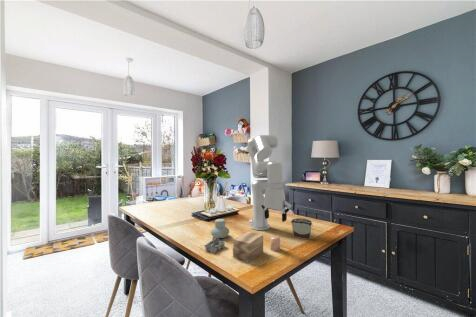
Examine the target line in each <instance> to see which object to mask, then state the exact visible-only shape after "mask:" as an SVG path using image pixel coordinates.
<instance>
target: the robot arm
mask: <svg viewBox="0 0 476 317" xmlns="http://www.w3.org/2000/svg"><path fill="white" fill-rule="evenodd" d="M278 146H279V139H278V137H277V136H276V135H274V134H261V135H258V136H256V137H254V138H250V139H248V141H247V146H246V147H247V151H248V154H249V157H250V159H251V170H252V176H253V178H255V179H257V180H253V181H252V182H251V186H250V187H251V191H252V192H251V193H252V217H253V218H249V220H248V223H250V224H251V225H250V228H251V229H253V230H256V231H267V230H269V229H270V228H271V227H270V226H271V225H270V224H269V223H268V222H269V221H268V219H269V218H270V210H269V209H271V210H278V211H281V212H282V214H281V221H282V223H283V222H286V221H287V214H288V212H289V211H290V210H291V208H292V204H291V203H290V202H288V201H286V194H285V190H284V188H283V164H282V162H280V161H276V160H275V161H268V160H267V161H266V159H269V158H270V157H271V156H272V155H273V150H275V149H277V148H278Z"/></svg>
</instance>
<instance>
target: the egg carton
mask: <svg viewBox="0 0 476 317" xmlns="http://www.w3.org/2000/svg"><path fill="white" fill-rule="evenodd" d="M225 243H226V241H225V240H220V238H215V237H213V238H212V240H210V241H209V242H208V243H206V244H205V245H203V246H204V250H205V252H210V253H216V252H217V251H220V250H221V249H222V248H225Z"/></svg>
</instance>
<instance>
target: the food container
mask: <svg viewBox="0 0 476 317" xmlns="http://www.w3.org/2000/svg"><path fill="white" fill-rule="evenodd" d="M290 223H291V228H292V234H293V235H292V237H293V238H299V239H303V240H308V239H309V240H311V233H312V232H311V231H312V227H313V222H312V221H311V219H307V218H301V217H299V218H292V219H291V221H290Z"/></svg>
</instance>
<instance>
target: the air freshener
mask: <svg viewBox="0 0 476 317" xmlns="http://www.w3.org/2000/svg"><path fill="white" fill-rule="evenodd" d="M229 234H230V228H229V227H227V226H226V220H225V219H224V218H218V219H215V220H214V227H212V228H211V230H210V235H211V236H212V237H213V238H218V239H225V238H227V237H228V235H229Z"/></svg>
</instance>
